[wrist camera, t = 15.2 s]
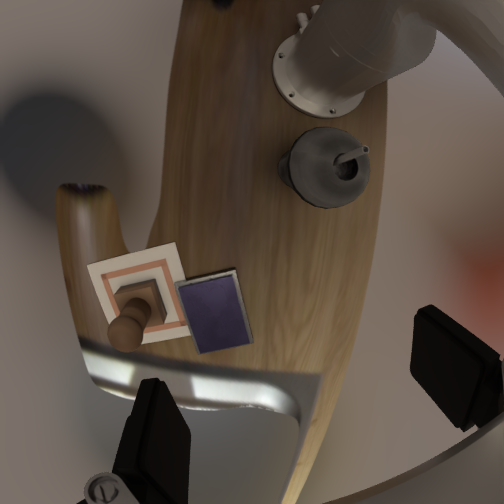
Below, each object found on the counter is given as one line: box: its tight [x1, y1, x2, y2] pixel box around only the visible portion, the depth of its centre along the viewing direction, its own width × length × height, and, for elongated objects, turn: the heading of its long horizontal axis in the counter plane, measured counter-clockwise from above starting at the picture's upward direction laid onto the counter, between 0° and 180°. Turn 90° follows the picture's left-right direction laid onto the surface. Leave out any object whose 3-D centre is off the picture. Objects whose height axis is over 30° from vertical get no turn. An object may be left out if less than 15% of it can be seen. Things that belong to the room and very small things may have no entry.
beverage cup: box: [278, 127, 370, 209], centre depth 26 cm, size 7×7×20 cm
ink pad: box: [174, 268, 254, 355], centre depth 38 cm, size 11×8×2 cm
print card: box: [87, 242, 191, 344], centre depth 37 cm, size 13×13×1 cm
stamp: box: [108, 279, 167, 352], centre depth 32 cm, size 5×5×11 cm
